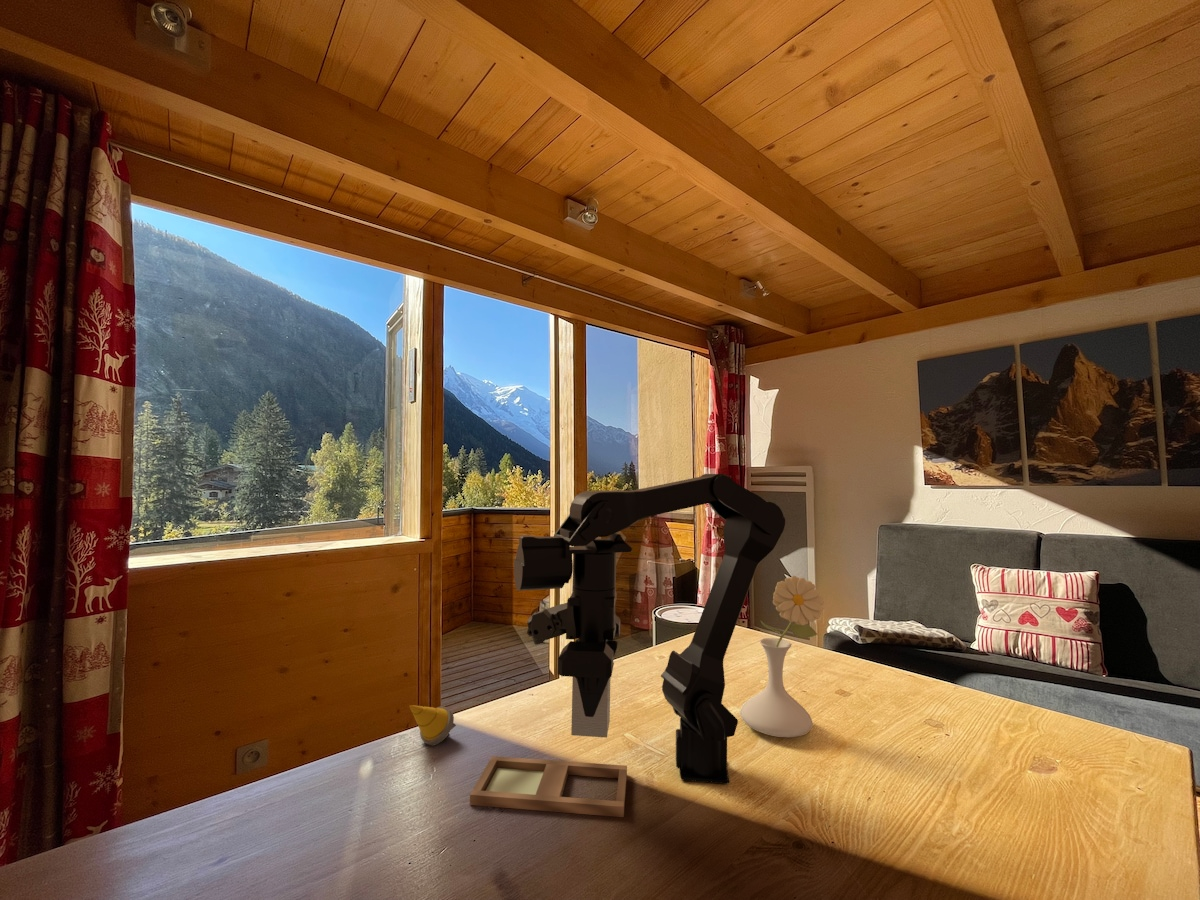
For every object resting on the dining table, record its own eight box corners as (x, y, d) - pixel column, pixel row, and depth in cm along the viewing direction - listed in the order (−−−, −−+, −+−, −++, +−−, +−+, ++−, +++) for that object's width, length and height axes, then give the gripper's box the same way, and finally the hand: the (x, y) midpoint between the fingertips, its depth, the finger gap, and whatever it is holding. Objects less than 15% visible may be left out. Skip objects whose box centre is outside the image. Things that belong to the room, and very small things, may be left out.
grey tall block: (609, 721, 70) (610, 655, 70) (606, 737, 65) (608, 667, 66) (576, 718, 70) (577, 653, 71) (571, 735, 66) (572, 665, 66)
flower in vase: (735, 736, 83) (735, 576, 84) (743, 707, 93) (744, 566, 94) (824, 754, 78) (824, 584, 79) (823, 721, 88) (822, 572, 89)
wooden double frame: (626, 774, 71) (627, 765, 71) (623, 817, 62) (623, 806, 62) (491, 764, 73) (491, 756, 73) (469, 804, 64) (469, 794, 64)
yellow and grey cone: (462, 746, 79) (421, 717, 74) (432, 757, 80) (390, 729, 74) (465, 712, 83) (428, 682, 78) (437, 723, 84) (398, 694, 79)
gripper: (547, 571, 79) (544, 677, 78) (516, 600, 60) (512, 739, 59) (621, 574, 78) (619, 681, 77) (612, 604, 59) (609, 746, 58)
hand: (591, 707), depth 68 cm, fingers closed on grey tall block, 4 cm apart
